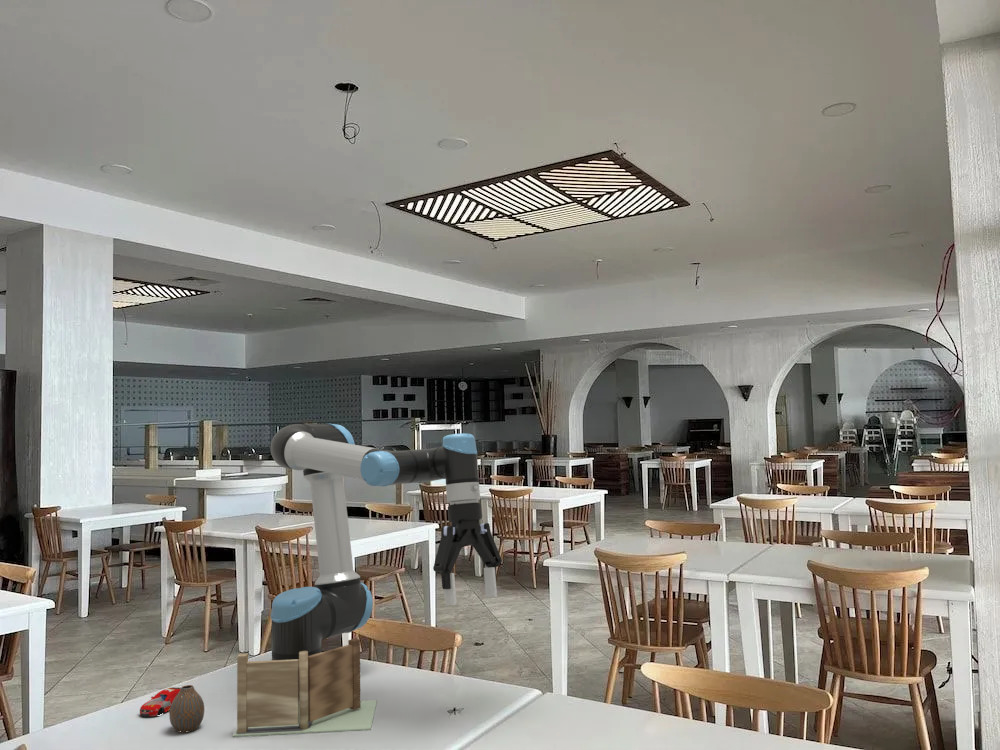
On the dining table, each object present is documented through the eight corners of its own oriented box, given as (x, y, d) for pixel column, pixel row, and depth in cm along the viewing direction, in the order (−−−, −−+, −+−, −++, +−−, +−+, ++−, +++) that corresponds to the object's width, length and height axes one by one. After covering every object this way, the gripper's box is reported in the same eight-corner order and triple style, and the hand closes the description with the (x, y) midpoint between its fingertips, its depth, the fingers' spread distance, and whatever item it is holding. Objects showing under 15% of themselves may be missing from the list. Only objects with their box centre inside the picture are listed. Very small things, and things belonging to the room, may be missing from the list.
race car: (153, 721, 172) (153, 702, 172) (134, 718, 174) (134, 700, 174) (196, 700, 184) (196, 683, 184) (177, 698, 186) (177, 681, 186)
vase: (183, 737, 161) (183, 694, 162) (162, 731, 165) (162, 688, 165) (211, 726, 167) (211, 684, 168) (190, 720, 171) (190, 679, 171)
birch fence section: (239, 730, 164) (239, 653, 165) (308, 726, 165) (308, 650, 166) (237, 733, 162) (237, 656, 163) (307, 729, 163) (307, 653, 164)
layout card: (252, 707, 178) (252, 706, 178) (376, 701, 180) (376, 699, 180) (232, 737, 161) (232, 735, 161) (370, 729, 163) (370, 727, 163)
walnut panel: (311, 725, 164) (310, 653, 165) (306, 723, 165) (305, 652, 166) (360, 707, 174) (359, 639, 175) (355, 705, 175) (354, 638, 176)
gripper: (437, 503, 164) (445, 608, 159) (511, 500, 183) (519, 593, 179) (412, 506, 168) (419, 608, 164) (486, 502, 187) (494, 594, 183)
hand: (471, 601), depth 171 cm, fingers open, 13 cm apart
